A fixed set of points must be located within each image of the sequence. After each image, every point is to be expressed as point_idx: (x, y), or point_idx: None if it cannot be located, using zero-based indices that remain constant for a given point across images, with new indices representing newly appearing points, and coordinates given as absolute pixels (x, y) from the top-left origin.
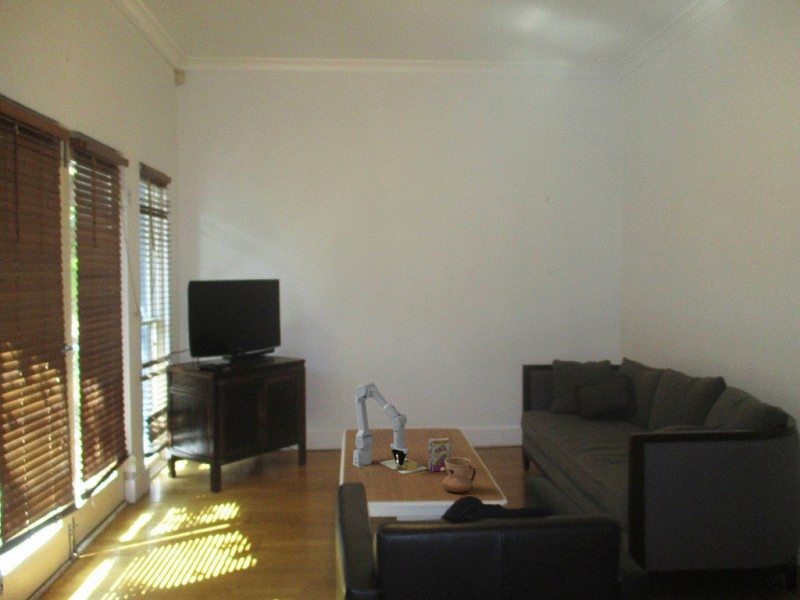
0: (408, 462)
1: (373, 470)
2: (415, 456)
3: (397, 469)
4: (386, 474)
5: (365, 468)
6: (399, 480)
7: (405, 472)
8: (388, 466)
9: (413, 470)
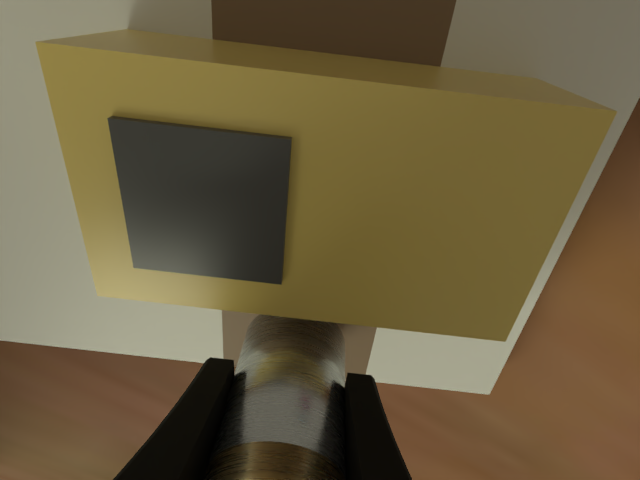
0: (344, 235)
1: (105, 448)
2: None
3: None
4: None
5: (5, 458)
6: (568, 464)
7: (487, 345)
8: (81, 343)
9: None
